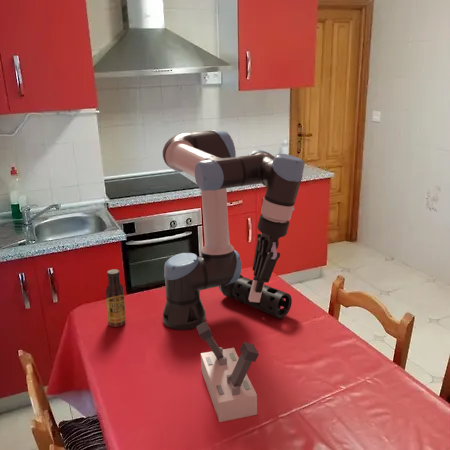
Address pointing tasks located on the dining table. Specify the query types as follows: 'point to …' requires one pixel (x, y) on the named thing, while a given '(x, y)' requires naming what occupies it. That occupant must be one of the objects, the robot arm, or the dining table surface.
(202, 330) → the inner lever
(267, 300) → the muzzle brake
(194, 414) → the dining table surface
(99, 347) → the dining table surface
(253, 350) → the outer lever
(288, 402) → the dining table surface
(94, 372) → the dining table surface
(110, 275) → the sauce bottle
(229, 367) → the switch panel
